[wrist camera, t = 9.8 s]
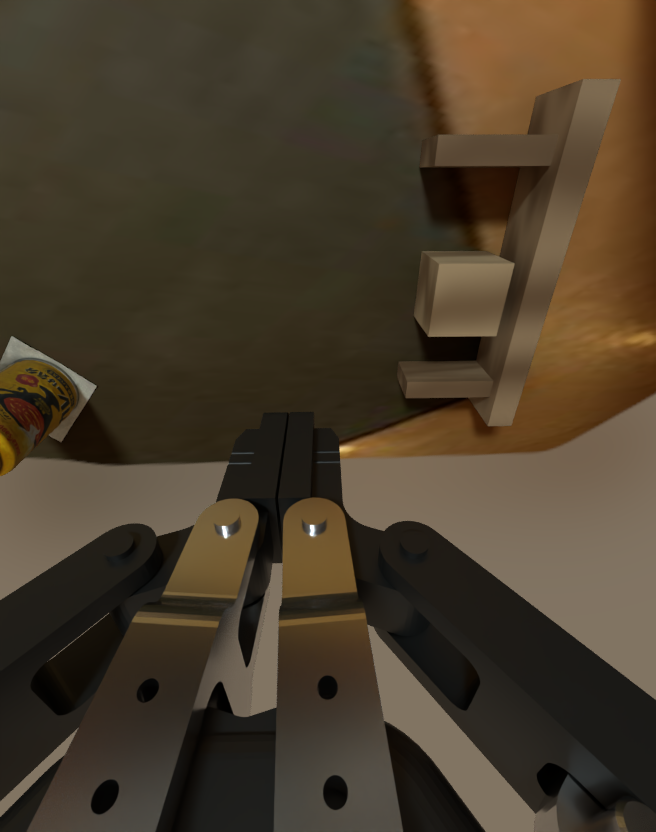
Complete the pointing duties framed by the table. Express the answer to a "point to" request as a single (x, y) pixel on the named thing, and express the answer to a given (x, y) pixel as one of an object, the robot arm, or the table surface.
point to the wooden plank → (521, 239)
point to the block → (461, 293)
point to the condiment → (35, 401)
